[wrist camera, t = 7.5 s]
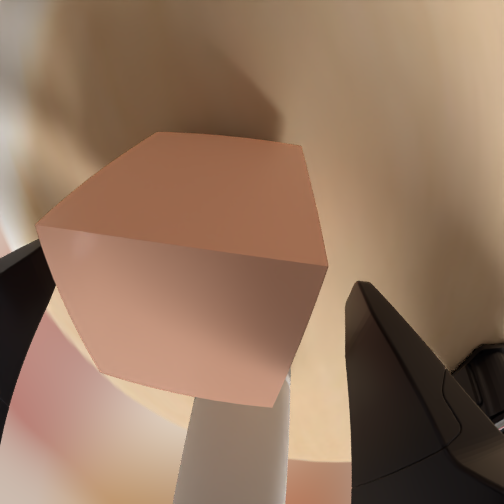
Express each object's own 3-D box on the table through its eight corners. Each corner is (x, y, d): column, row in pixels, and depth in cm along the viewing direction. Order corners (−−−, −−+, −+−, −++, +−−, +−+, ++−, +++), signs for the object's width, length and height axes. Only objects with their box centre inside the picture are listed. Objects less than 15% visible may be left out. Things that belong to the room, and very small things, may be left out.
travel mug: (191, 337, 18) (129, 621, 2) (293, 342, 17) (270, 647, 1) (206, 382, 22) (166, 601, 6) (288, 387, 21) (269, 616, 5)
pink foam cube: (301, 145, 9) (328, 266, 4) (278, 263, 13) (272, 407, 7) (157, 131, 10) (34, 224, 4) (162, 246, 13) (100, 372, 7)
